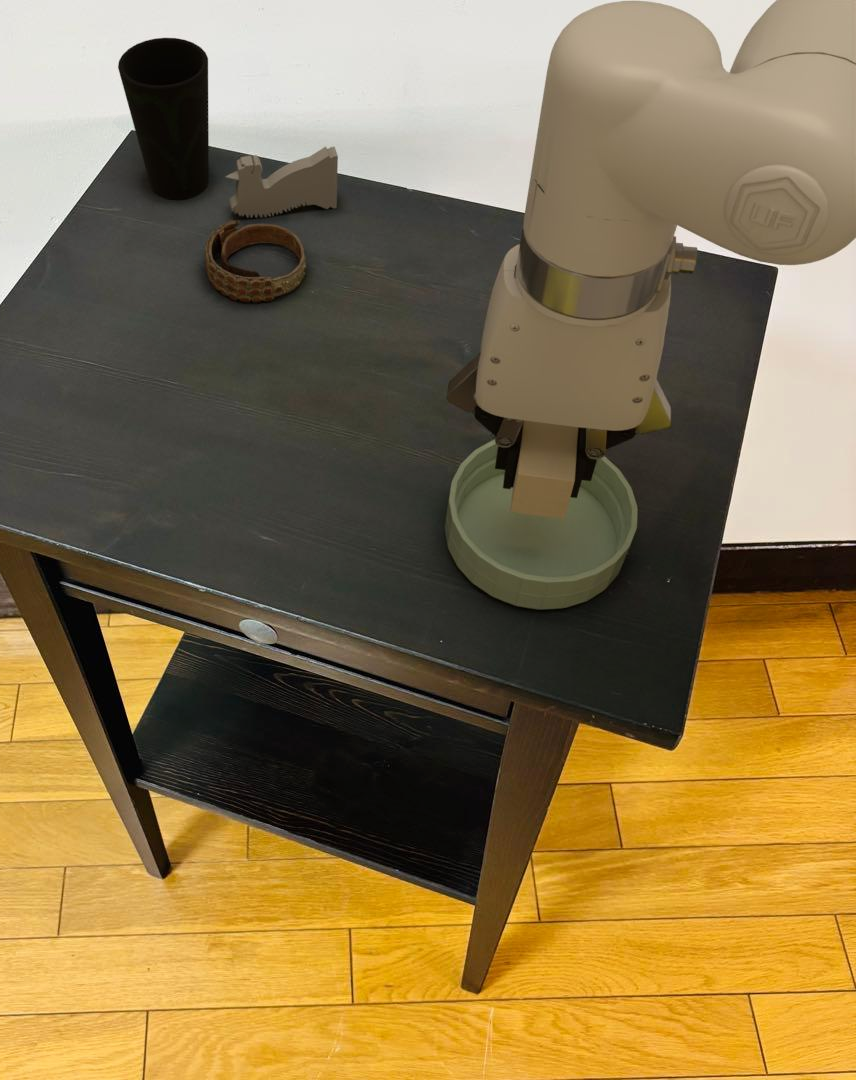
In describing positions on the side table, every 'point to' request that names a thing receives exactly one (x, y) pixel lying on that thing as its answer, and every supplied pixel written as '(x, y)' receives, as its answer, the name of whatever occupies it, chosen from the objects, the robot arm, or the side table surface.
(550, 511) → the tan rectangular block
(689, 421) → the side table surface
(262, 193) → the serrated bird cutout
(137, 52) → the cup
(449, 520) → the bowl
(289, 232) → the bracelet
